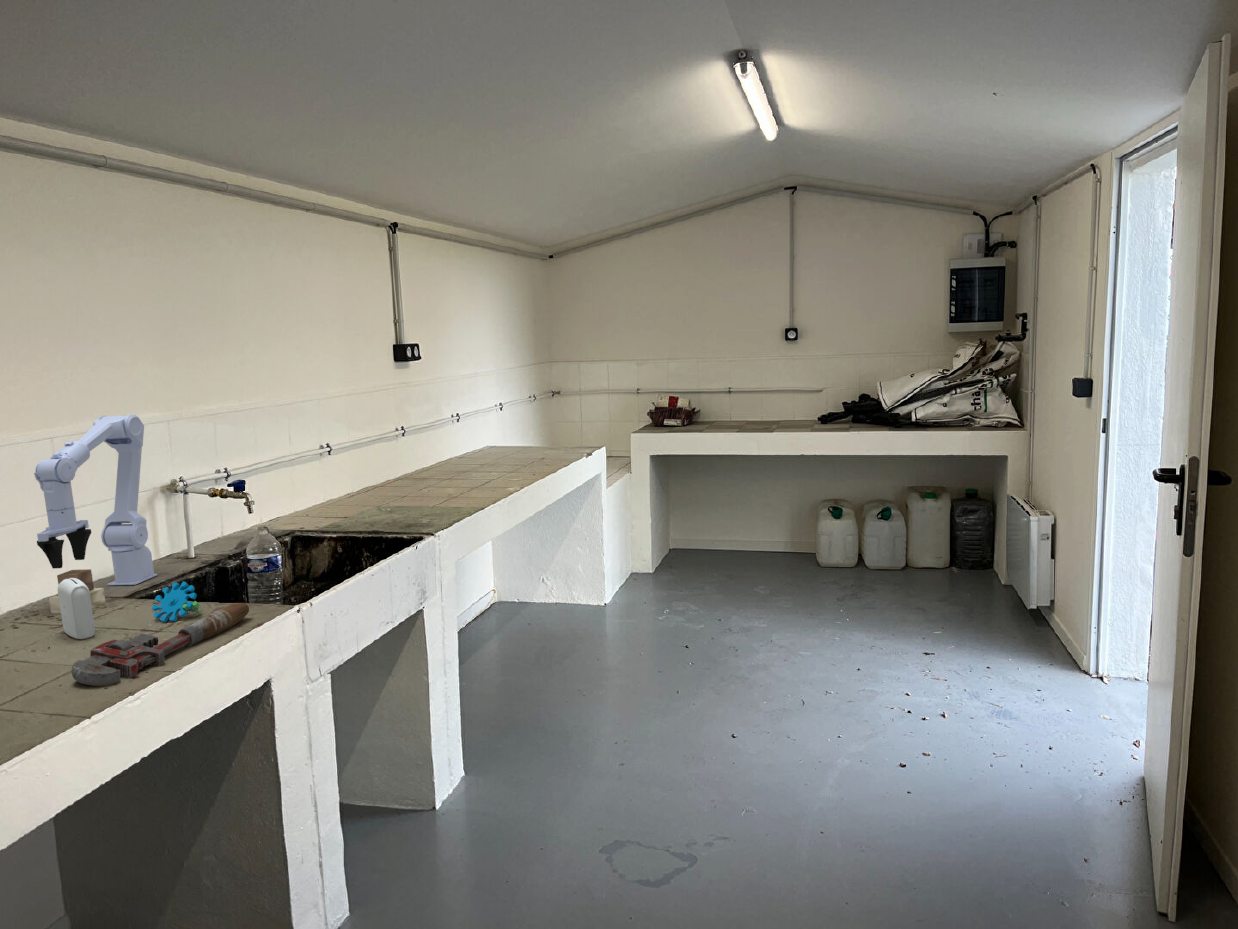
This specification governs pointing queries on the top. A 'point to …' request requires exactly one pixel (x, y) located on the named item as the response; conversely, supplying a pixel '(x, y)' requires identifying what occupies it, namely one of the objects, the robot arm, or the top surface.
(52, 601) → the birch block
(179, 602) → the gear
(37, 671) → the top surface
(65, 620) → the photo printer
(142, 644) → the pipe wrench
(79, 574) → the walnut cube
